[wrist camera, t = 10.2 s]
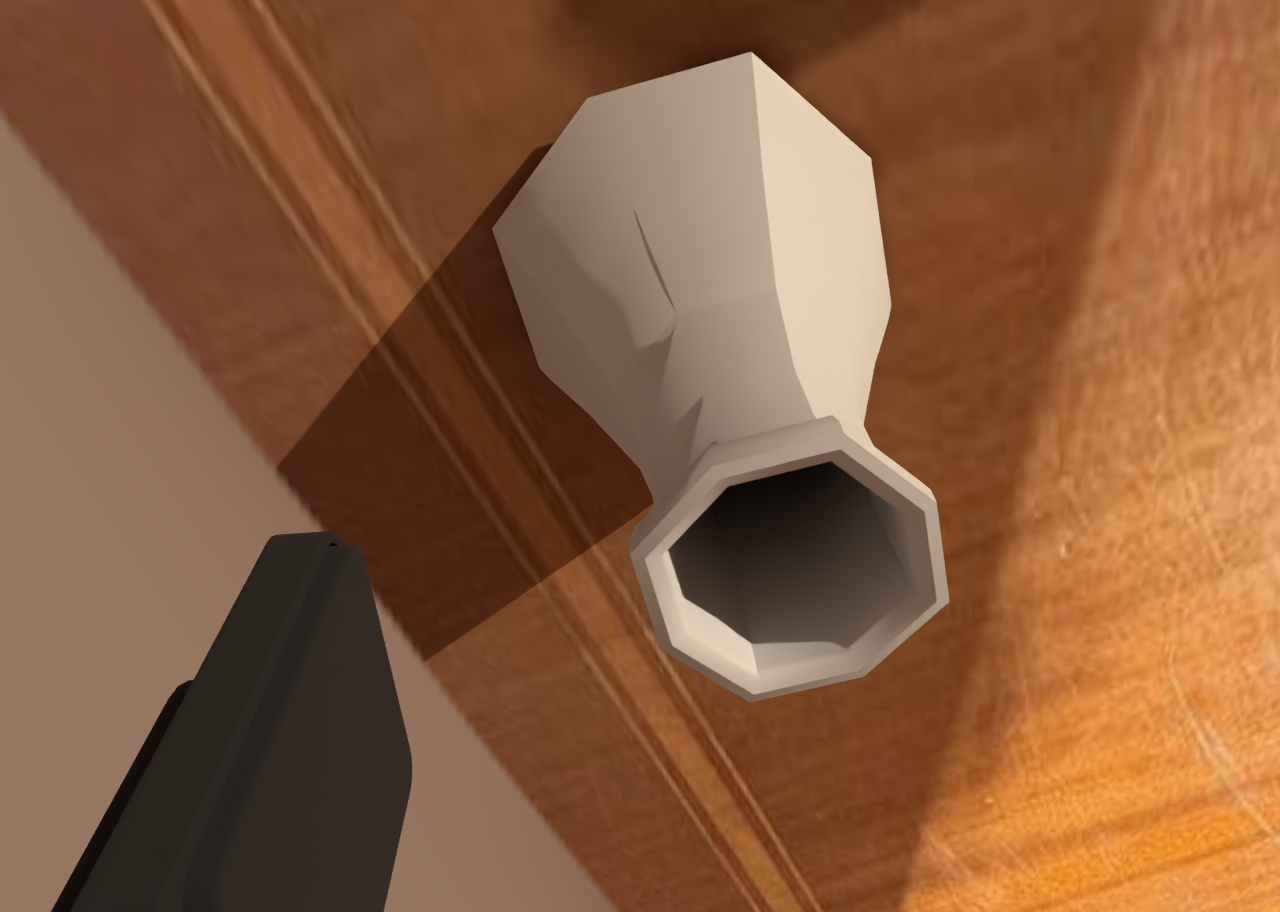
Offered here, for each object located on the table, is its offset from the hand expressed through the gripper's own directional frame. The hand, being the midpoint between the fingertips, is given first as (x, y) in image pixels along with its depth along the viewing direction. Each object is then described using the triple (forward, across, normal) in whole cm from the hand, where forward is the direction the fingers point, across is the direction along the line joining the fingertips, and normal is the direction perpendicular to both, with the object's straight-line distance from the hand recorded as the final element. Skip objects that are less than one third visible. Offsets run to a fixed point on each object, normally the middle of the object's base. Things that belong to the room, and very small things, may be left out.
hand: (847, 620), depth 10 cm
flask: (+11, +1, 0) cm, 11 cm away
